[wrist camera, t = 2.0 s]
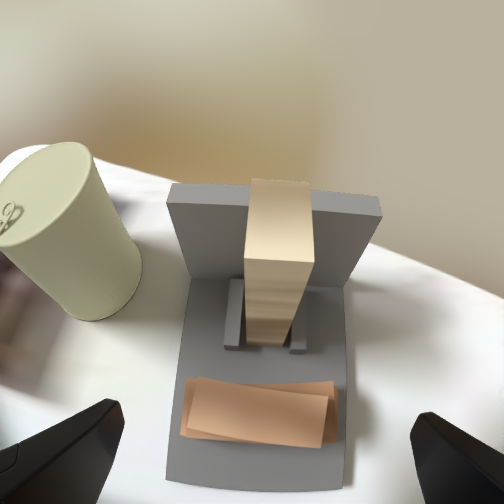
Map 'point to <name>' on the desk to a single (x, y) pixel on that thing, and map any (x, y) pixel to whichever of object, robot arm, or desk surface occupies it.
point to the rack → (261, 357)
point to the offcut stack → (261, 412)
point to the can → (68, 232)
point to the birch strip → (276, 257)
